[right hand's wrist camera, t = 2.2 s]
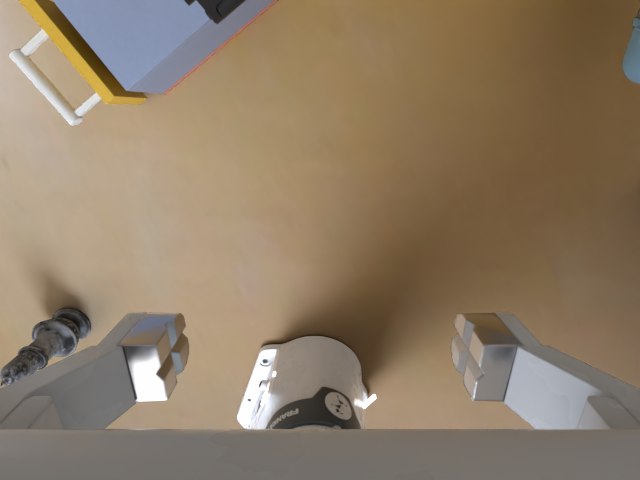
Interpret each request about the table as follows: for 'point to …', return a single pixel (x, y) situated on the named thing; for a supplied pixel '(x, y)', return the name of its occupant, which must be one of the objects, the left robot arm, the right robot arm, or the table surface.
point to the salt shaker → (47, 344)
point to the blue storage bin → (155, 37)
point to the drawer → (77, 54)
